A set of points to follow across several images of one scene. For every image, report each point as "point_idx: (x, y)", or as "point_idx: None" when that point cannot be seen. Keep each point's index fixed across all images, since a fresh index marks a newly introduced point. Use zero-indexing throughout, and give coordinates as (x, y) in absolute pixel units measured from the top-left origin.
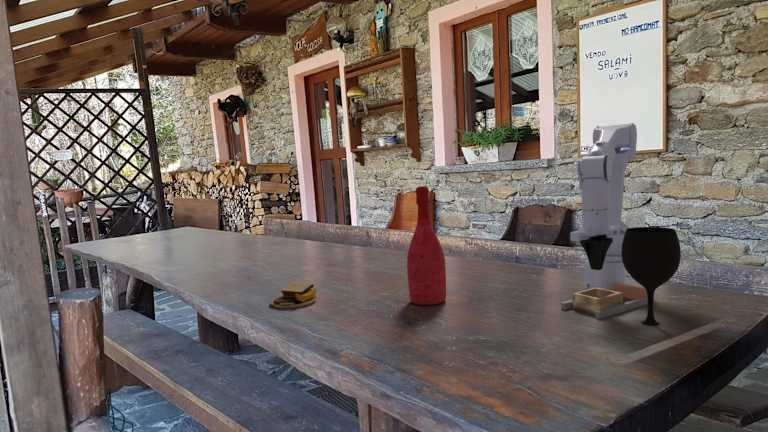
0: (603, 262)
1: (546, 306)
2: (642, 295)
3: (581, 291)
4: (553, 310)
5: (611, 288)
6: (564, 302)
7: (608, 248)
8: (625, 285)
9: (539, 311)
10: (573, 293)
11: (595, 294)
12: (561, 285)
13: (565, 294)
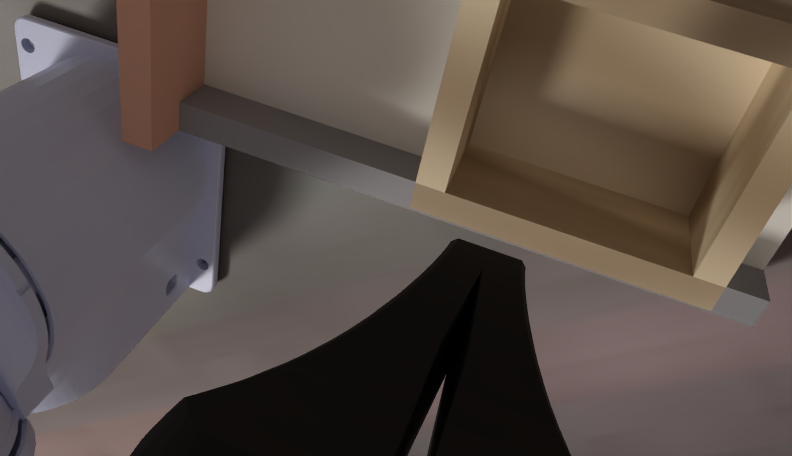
0: (440, 274)
1: (610, 382)
2: None
3: (610, 265)
4: (684, 331)
5: None
6: (734, 309)
7: (299, 360)
8: (150, 35)
9: (749, 392)
10: (711, 302)
11: (468, 171)
12: (164, 400)
13: (304, 350)
